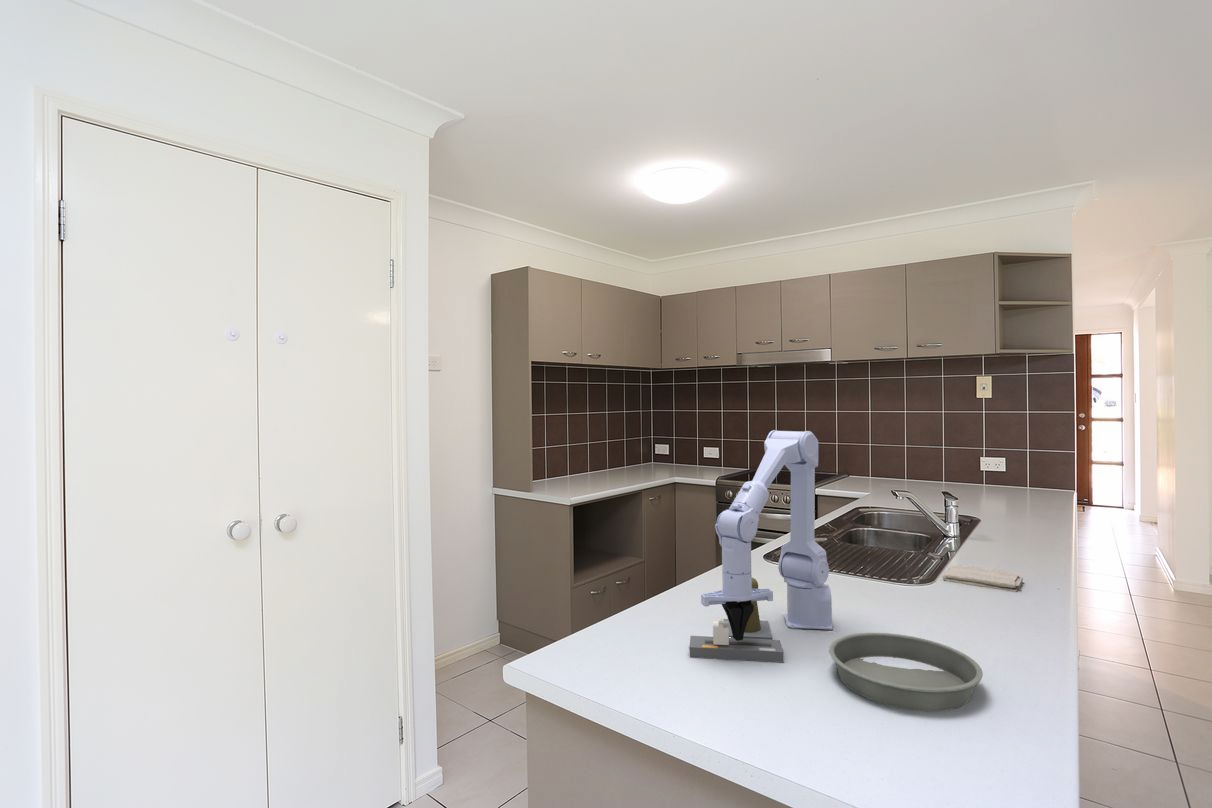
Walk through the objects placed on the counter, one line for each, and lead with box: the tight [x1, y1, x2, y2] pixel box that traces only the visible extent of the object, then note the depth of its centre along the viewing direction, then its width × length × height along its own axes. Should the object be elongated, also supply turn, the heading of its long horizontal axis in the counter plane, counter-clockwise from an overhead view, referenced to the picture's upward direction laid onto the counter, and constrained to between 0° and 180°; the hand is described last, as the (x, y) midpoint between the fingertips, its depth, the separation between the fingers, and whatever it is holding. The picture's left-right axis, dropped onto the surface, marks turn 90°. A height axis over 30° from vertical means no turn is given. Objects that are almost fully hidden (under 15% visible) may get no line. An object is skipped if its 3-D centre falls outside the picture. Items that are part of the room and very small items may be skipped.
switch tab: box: [712, 617, 729, 645], centre depth 122 cm, size 3×4×4 cm
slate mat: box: [722, 618, 774, 640], centre depth 134 cm, size 10×10×1 cm
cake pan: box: [828, 632, 984, 712], centre depth 109 cm, size 25×25×4 cm
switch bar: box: [689, 635, 785, 663], centre depth 122 cm, size 18×6×2 cm, turn 80°
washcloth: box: [942, 564, 1024, 593], centre depth 167 cm, size 12×18×3 cm, turn 51°
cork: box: [745, 577, 761, 633], centre depth 134 cm, size 6×6×11 cm
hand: (737, 638), depth 122 cm, fingers closed
